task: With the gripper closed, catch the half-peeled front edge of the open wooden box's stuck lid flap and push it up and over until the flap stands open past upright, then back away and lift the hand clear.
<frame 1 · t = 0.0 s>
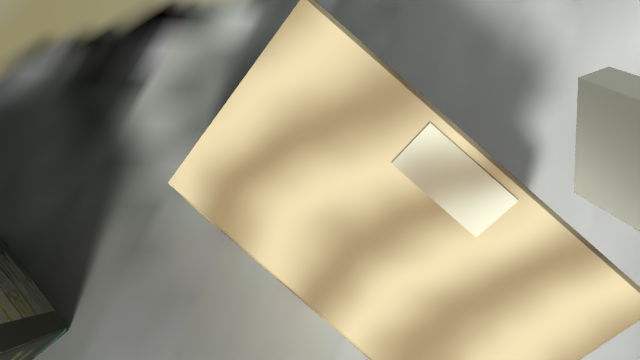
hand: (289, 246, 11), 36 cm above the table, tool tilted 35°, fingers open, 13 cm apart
flap: (392, 237, 33), point 15 cm above the table, hinge at 40.0°
open wooden box: (352, 231, 48), on the table
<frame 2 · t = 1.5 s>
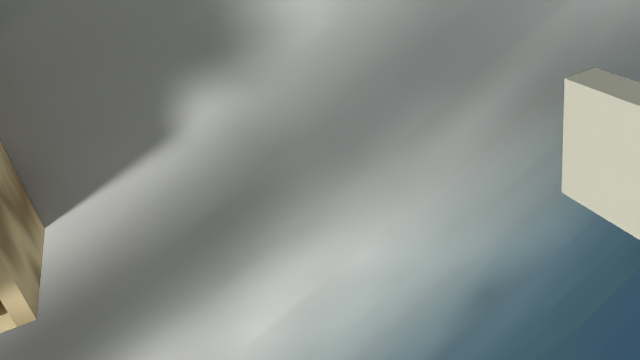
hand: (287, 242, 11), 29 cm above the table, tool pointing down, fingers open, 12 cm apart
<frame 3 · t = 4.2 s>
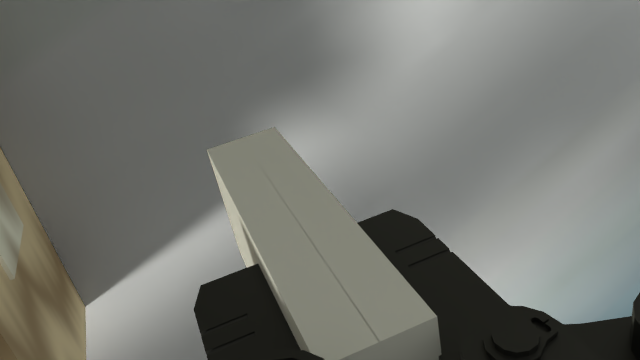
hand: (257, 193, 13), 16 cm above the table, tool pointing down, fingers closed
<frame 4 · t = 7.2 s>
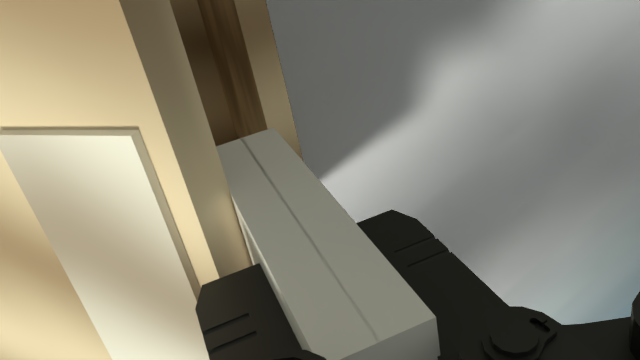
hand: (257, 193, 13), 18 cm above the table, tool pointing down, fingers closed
open wooden box: (74, 54, 26), on the table
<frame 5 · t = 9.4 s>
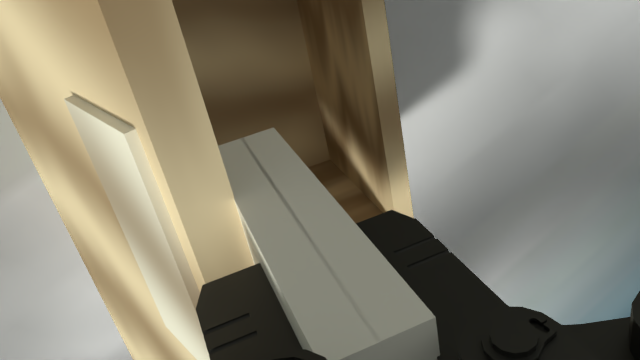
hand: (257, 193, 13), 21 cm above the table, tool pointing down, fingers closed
flap: (91, 170, 15), point 17 cm above the table, hinge at 71.6°, touching gripper
open wooden box: (183, 11, 31), on the table
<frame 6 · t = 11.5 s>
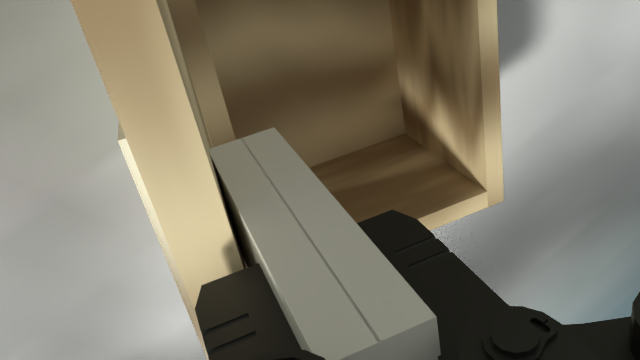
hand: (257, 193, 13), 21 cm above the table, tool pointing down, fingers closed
flap: (185, 140, 16), point 17 cm above the table, hinge at 95.1°, touching gripper
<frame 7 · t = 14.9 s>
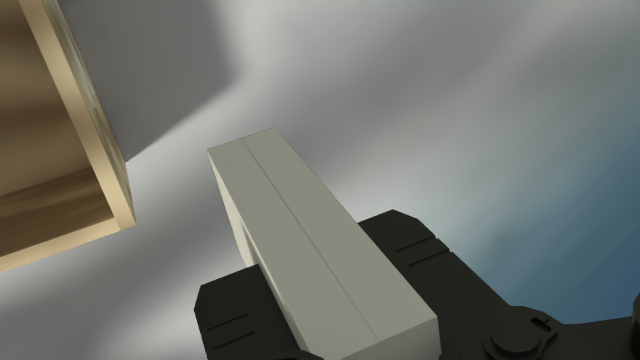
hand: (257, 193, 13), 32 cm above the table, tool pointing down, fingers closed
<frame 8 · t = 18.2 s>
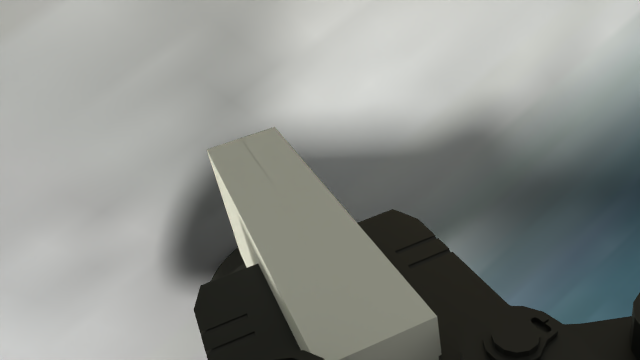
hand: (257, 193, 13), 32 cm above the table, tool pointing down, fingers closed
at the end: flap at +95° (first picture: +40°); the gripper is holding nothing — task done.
